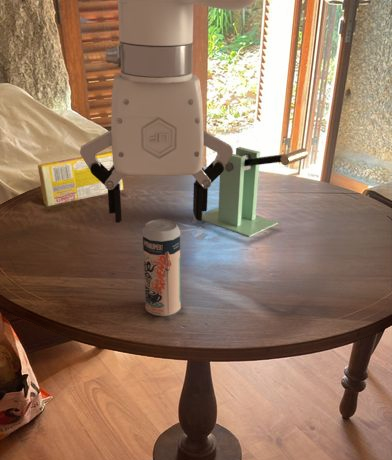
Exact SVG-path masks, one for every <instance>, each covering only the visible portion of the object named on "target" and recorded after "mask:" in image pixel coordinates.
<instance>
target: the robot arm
mask: <svg viewBox="0 0 392 460" xmlns="http://www.w3.org/2000/svg"><path fill="white" fill-rule="evenodd" d="M257 2H259V0H117V15H118V16H117V17H118V18H117V19H118V39H119V44H116V46H115V47H112V48H105V59H106V64H113V65H114V66H115V65H117V68H120V72H119V73H116V74H115V75H114V77H113V83H112V84H113V85H112V91H111V109H110V112H111V114H110V115H111V116H110V119H111V121H110V122H111V127H110V128H111V129H110V130H108V131H106V132H104V133H102V134H101V135H99V136H97V137H95V138H94V139H92V140H89V141H88V142H86V143H84V144H83V145H81V146H80V150H79V154H80V157H82V158H83V159H84V161H85V163H86V164H87V166H88V167H89V169H90V170H91V173H92V174H93V175H94V176H95V177H96V178H97V179H98V180H99V181H101V182H102V183H103V184H104V185H105V187H106V188H107V189H108V193H107V199H108V214H114V218H115V224H117V223H121V222H122V202H121V201H122V200H121V190H120V183H119V181H120V180H121V179H122V180H123V178H124V177H125V176H127V177H172V176H173V177H175V176H176V177H179V176H191V175H192V177H194V179H195V180H194V182H193V196H192V197H193V198H192V199H193V200H192V212H193V215H194V219H195V220H196V221H197V222H202V221H203V220H202V214H203V212H208V195H209V192H208V191H209V188H210V187H211V186H212V183H214V181H215V180H217V179H218V177H220V174H221V173H222V172H223V171H224V167H225V165H226V164H227V163H228V161H229V159H230V157H231V155H232V154H234V149H233V147H232V145H230V143H227V142H225V141H224V140H221V139H220V138H218V137H216V136H214V135H213V134H210V133H209V132H207V131H205V130H204V109H203V95H202V88H201V81H200V77H198V76H197V75H196V74H193V47H194V44H193V43H194V5H199V6H204V7H209V8H214V9H219V10H224V11H240V10H244V9H247V8H250V7H251V6H252V5H254V4H256V3H257ZM109 147H111V151H112V157H113V165H112V167H111V168H110V169H109V170H107V169H106V168H105V167H104V166H103V165H102V164H101V163H100V162H99V161H98V159H97V157H96V154H99V153H101V152H102V151H104V150H106V149H108V148H109ZM204 147H206V148H208V149H210V150H211V151H213V152H216V155H215V159H214V160H213V161H212V162H211V163H210V164H209V165H208V166H207V167H206V168H204V167H203V165H204V153H205V148H204Z"/></svg>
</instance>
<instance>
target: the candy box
mask: <svg viewBox="0 0 392 460" xmlns="http://www.w3.org/2000/svg"><path fill="white" fill-rule="evenodd" d="M96 157H97V159H98V161H99V162H100V163H101V164H102V165H103V166H104V167H105V168H106V169H107V170H109V169H110V168H111V167H112V165H113V157H112V150H109V151H104V152H98V153H97V154H96ZM37 170H38V176H39V182H40V189H41V195H42V199H43V200H42V201H43V204H44V205H45V206H47V207H49V206H50V207H51V206H54V205H59V204H65V203H69V202H74V201H78V200H83V199H87V198H92V197H97V196H103V195H106V194H108V189H107V188H106V187H105V185H104V184H103V183H102V182H101V181H99V180H98V179H97V178H96V177H95V176H94V175H93V174H92V173H91V170H90V169H89V167H88V166H87V164H86V163H85V161H84V159H83V158H82V156H79V157H73V158H68V159H63V160H56V161H52V162H47V163H41V164H37ZM119 183H120V191H124V181H123V178H122V179H121V180H120V181H119ZM47 207H44V209H45V210H46V211H48V212H50V211H51V209H49V208H47Z"/></svg>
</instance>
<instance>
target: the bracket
mask: <svg viewBox="0 0 392 460" xmlns="http://www.w3.org/2000/svg"><path fill="white" fill-rule="evenodd" d="M244 154H249V156H250V158H258V157H261V152H260V151H258V150H254V149H250V148H246V147H242V146H238V147H236V148H235V154H234V153H233V154H232V155H231V157H230V159H229V161H228V163H227V164H226V165H225V167H224V171H223V172H222V173H221V174H220V175H219V186H218V187H219V189H218V207H217V208H215V209H213V210H210V211H206V212H204V213H202V221H204V222H207V223H210V224H212V225H215V226H218V227H220V228H223V229H226V230H229V231H231V232H234V233H237V234H240V235H243V236H245V237H248V238H250V237H253V236H255V235H257V234H259V233H261V232H263V231H265V230H267V229H268V230H269V229H270V228H272V227H274V226H276V225H278V223H279V222H277V221H274V220H272V219H268V218H265V217H262V216H259V215H257V214H256V213H257V204H258V203H257V201H258V191H259V190H258V187H259V174H260V165H252V166H251V169H249V170H246V171H244V164H245V157H243V156H239V155H244Z"/></svg>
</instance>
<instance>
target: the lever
mask: <svg viewBox="0 0 392 460" xmlns="http://www.w3.org/2000/svg"><path fill="white" fill-rule="evenodd" d="M308 155H309V153H308V150H307V149H306V148H304V147H301V148H299V149H296V150H293V151H289V152H288V153H283V154H275V155H266V156H260V157H258V158H250V156H249V154H244V155H239V156H243V157H245V164H244V171H246V170H249V169H251V166H252V165H259V166H260V165H268V164H275V163H281V164H282V165H283V166H288V165H291V164H294V163H296V162H299V161H302V160H304V159H307V157H308Z"/></svg>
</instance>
